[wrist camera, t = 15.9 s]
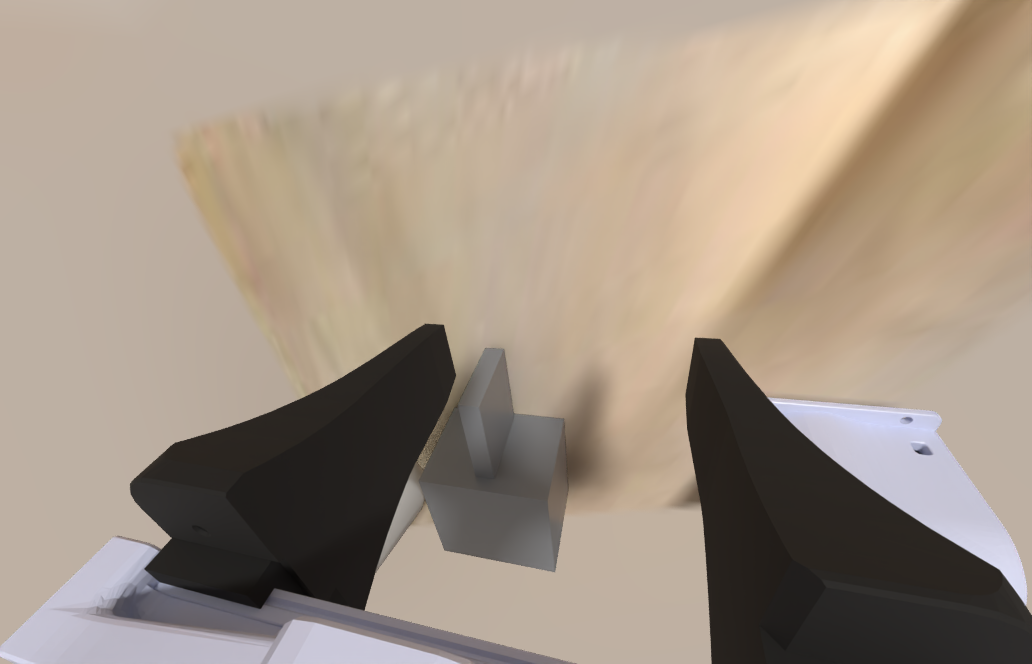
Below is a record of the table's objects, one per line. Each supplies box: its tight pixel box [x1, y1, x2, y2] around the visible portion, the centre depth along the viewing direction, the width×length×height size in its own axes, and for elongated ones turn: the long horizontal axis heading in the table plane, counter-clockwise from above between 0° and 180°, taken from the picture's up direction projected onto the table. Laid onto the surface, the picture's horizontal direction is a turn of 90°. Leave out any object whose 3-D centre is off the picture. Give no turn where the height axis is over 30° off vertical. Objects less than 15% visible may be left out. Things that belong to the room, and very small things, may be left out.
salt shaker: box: [375, 462, 425, 573], centre depth 32 cm, size 6×6×13 cm
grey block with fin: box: [419, 348, 568, 572], centre depth 28 cm, size 14×8×6 cm, turn 5°
